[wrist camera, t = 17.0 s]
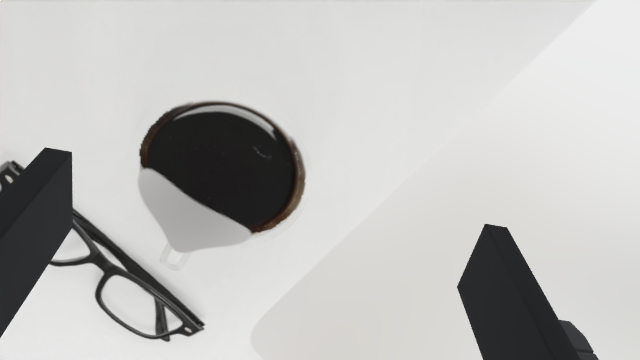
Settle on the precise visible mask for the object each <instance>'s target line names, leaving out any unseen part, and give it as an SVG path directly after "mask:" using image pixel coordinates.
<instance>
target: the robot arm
mask: <svg viewBox="0 0 640 360" xmlns="http://www.w3.org/2000/svg"><path fill="white" fill-rule="evenodd" d="M72 227H73V210H72V152H68V151H63V150H57V149H51V148H44V149H43V150H42V151H41V152H40V153H39V154H38V156H37V157H36V158H35V159H34V160H33V161H32V162H31V163H30V164H29V165H28V166H27V167H26V168H25V169H24V170H23V172H22V173H21V174H20V175H19V176H18V177H17V178H16V179H15V180H14V181H13V182H12V183H11V184H10V185H9V186H8V188H7V189H6V190H5V191H4V192H3V193H2V194H1V195H0V337H1V336H2V334H3V333H4V331H5V330H6V328H7V327H8V325H9V324H10V322H11V321H12V319H13V318H14V316H15V314H16V313H17V311H18V310H19V308H20V307H21V305H22V304H23V302H24V301H25V299H26V298H27V296H28V295H29V293H30V291H31V290H32V288H33V287H34V285H35V284H36V282H37V281H38V279H39V278H40V276H41V275H42V273H43V272H44V270H45V268H46V267H47V265H48V264H49V262H50V261H51V259H52V258H53V256H54V255H55V253H56V252H57V250H58V249H59V247H60V245H61V244H62V242H63V241H64V239H65V238H66V236H67V235H68V233H69V232H70V230H71V229H72ZM457 288H458V291H459V294H460V296H461V299H462V302H463V305H464V308H465V310H466V313H467V316H468V319H469V321H470V324H471V327H472V330H473V333H474V335H475V338H476V341H477V344H478V346H479V349H480V352H481V355H482V357H483V360H598V358H597V356H596V355H595V354H593V350H592V348H591V346H590V345H589V343H588V341H587V339H586V338H585V336H584V335H583V334H582V333H581V332H580V331H579V330H578V329H577V328H576V327H575V326H574V325H573V324H572V323H571V322H569V321H562V320H558V318H557V316H556V314H555V313H554V311H553V309H552V307H551V305H550V304H549V302H548V300H547V298H546V296H545V295H544V293H543V291H542V289H541V287H540V286H539V284H538V282H537V280H536V279H535V277H534V275H533V274H532V271H531V270H530V268H529V266H528V264H527V263H526V261H525V259H524V257H523V256H522V254H521V252H520V250H519V248H518V246H517V245H516V243H515V241H514V239H513V238H512V236H511V234H510V232H509V231H508V229H507V227H501V226H495V225H489V224H485V225H484V228H483V230H482V232H481V235H480V236H479V239H478V241H477V243H476V245H475V248H474V250H473V252H472V255H471V257H470V259H469V261H468V263H467V266H466V268H465V270H464V273H463V275H462V277H461V279H460V281H459V284H458V286H457Z"/></svg>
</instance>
